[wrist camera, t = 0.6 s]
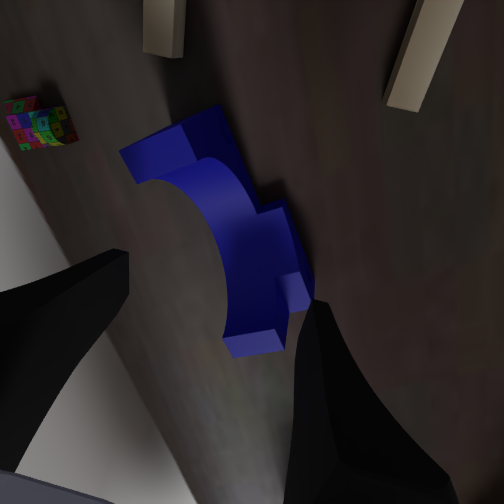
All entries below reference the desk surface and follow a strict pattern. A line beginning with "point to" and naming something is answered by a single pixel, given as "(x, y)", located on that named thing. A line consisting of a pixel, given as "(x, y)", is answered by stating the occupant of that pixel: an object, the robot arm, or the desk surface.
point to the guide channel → (405, 69)
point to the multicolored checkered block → (39, 124)
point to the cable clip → (233, 227)
